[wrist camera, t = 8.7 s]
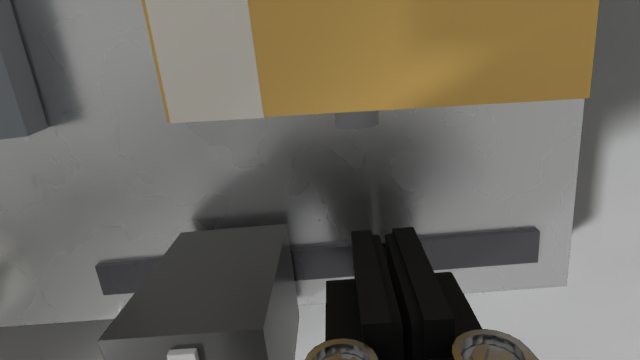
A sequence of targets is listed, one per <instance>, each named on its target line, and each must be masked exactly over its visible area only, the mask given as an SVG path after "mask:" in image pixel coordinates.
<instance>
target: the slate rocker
mask: <svg viewBox="0 0 640 360" xmlns="http://www.w3.org/2000/svg"><path fill="white" fill-rule="evenodd" d="M46 128H48V125H47V122H46V119H45V115H44V112H43V109H42V105H41V102H40V99H39V95H38V92H37V89H36V86H35V82H34V79H33V76H32V72H31V69H30V66H29V62H28V59H27V56H26V53H25V49H24V46H23V43H22V39H21V36H20V33H19V29H18V26H17V23H16V19H15V16H14V13H13V10H12V6H11V3H10V0H0V140H2V139H10V138H18V137H26V136H30V135H32V134H34V133H37V132H39V131H42V130H44V129H46Z"/></svg>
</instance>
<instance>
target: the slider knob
mask: <svg viewBox="0 0 640 360" xmlns="http://www.w3.org/2000/svg"><path fill="white" fill-rule="evenodd" d="M298 323H299V310H298V302H297V295H296V287H295V280H294V272H293V265H292V257H291V250H290V242H289V235H288V227H287V224H278V225H266V226H254V227H241V228H229V229H217V230H205V231H193V232H181V233H180V234H179V236H178V237H177V238H176V240H175V241H174V242H173V244H172V245H171V246H170V247H169V249H168V250H167V251H166V253H165V254H164V255H163V257H162V258H161V259H160V261H159V262H158V263H157V264H156V266H155V267H154V268H153V270H152V271H151V272H150V274H149V275H148V276H147V278H146V279H145V280H144V281H143V283H142V284H141V285H140V287H139V288H138V289H137V291H136V292H135V293H134V294H133V296H132V297H131V298H130V300H129V301H128V302H127V304H126V305H125V306H124V308H123V309H122V310H121V311H120V313H119V314H118V315H117V317H116V318H115V319H114V321H113V322H112V323H111V324H110V326H109V327H108V328H107V330H106V331H105V332H104V334H103V335H102V336H101V338H100V339H99V340H98V342H99V345H100V349H101V352H102V355H103V358H104V360H295V351H296V341H297V332H298Z"/></svg>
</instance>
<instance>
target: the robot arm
mask: <svg viewBox="0 0 640 360" xmlns="http://www.w3.org/2000/svg"><path fill="white" fill-rule="evenodd" d="M351 240H352V253H353V266H354V278H355V279H343V280H329V281H326V339H325V342H323V343H321V344H320V345H318V346H316V347H314V348H313V349H312V350H311V351H310V352H309V353H308V355H307V357H306V359H305V360H539V359H538V358H537V357H536V356H535V355H534V354H533V353H532V351H531V350H530V349H529V348H528V347H527V346H526V345H525V344H523V343H522V342H521V341H520V340H518V339H516V338H514V337H513V336H511V335H509V334H506V333H503V332H499V331H495V330H488V329H482V328H481V326H480V324H479V322H478V320H477V318H476V316H475V315H474V313H473V311H472V309H471V307H470V305H469V303H468V301H467V300H466V298H465V296H464V294H463V292H462V290H461V288H460V286H459V285H458V283H457V281H456V279H455V277H454V275H453V274H452V272H439V273H434V271H433V269H432V266H431V264H430V262H429V260H428V258H427V255H426V253H425V251H424V249H423V247H422V244H421V242H420V240H419V238H418V236H417V233H416V231H415V229H414V227H402V228H393V229H392V234H385V248H386V258H385V254H384V251H383V247H382V243H381V239H380V235H372V233H371V230H363V231H351Z"/></svg>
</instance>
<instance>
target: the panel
mask: <svg viewBox="0 0 640 360" xmlns="http://www.w3.org/2000/svg"><path fill="white" fill-rule="evenodd" d="M10 3H11V6H12V10H13V13H14V16H15V19H16V23H17V26H18V29H19V33H20V36H21V39H22V43H23V46H24V49H25V53H26V56H27V59H28V62H29V66H30V69H31V72H32V76H33V79H34V82H35V86H36V89H37V92H38V95H39V99H40V102H41V105H42V109H43V112H44V115H45V119H46V122H47V125H48V128H46V129H44V130H42V131H39V132H37V133H34V134H32V135H30V136H26V137H18V138H10V139H2V140H0V327H10V326H24V325H37V324H51V323H65V322H79V321H92V320H106V319H115V318H116V317H117V315H118V314H119V313H120V311H121V310H122V309H123V308H124V306H125V305H126V304H127V302H128V301H129V300H130V298H131V297H132V296H133V294H134V293H135V292H136V291H137V289H138V288H139V287H140V285H141V284H142V283H143V281H144V280H145V279H146V278H147V276H148V275H149V274H150V272H151V271H152V270H153V268H154V267H155V266H156V264H157V263H158V262H159V261H160V259H161V258H162V257H163V255H164V254H165V253H166V251H167V250H168V249H169V247H170V246H171V245H172V244H173V242H174V241H175V240H176V238H177V237H178V236H179V234H180V233H181V232H193V231H205V230H217V229H229V228H241V227H254V226H266V225H278V224H287V227H288V235H289V242H290V250H291V257H292V265H293V272H294V280H295V287H296V295H297V302H298V306H299V305H313V304H326V281H329V280H343V279H355V278H354V266H353V253H352V240H351V231H363V230H371V233H372V235H380V239H381V243H382V247H383V251H384V254H385V258H386V248H385V234H392V229H393V228H402V227H414V229H415V231H416V233H417V236H418V238H419V240H420V242H421V244H422V247H423V249H424V251H425V253H426V255H427V258H428V260H429V262H430V264H431V266H432V269H433V271H434V273H439V272H452V274H453V275H454V277H455V279H456V281H457V283H458V285H459V286H460V288H461V290H462V292H463V294H464V293H478V292H491V291H505V290H519V289H533V288H546V287H560V286H567V278H568V267H569V257H570V246H571V236H572V226H573V215H574V205H575V194H576V184H577V174H578V163H579V153H580V142H581V132H582V122H583V111H584V101H585V99H569V100H552V101H534V102H517V103H499V104H482V105H465V106H447V107H430V108H412V109H395V110H378V112H379V124H378V125H376V126H373V127H369V128H363V129H338V128H336V127H335V116H334V113H325V114H307V115H290V116H273V117H265V118H256V119H238V120H220V121H203V122H185V123H170V122H168V123H167V119H166V114H165V109H164V105H163V100H162V95H161V91H160V86H159V81H158V76H157V72H156V67H155V62H154V58H153V53H152V48H151V44H150V39H149V34H148V29H147V25H146V20H145V15H144V11H143V6H142V1H141V0H10Z"/></svg>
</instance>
